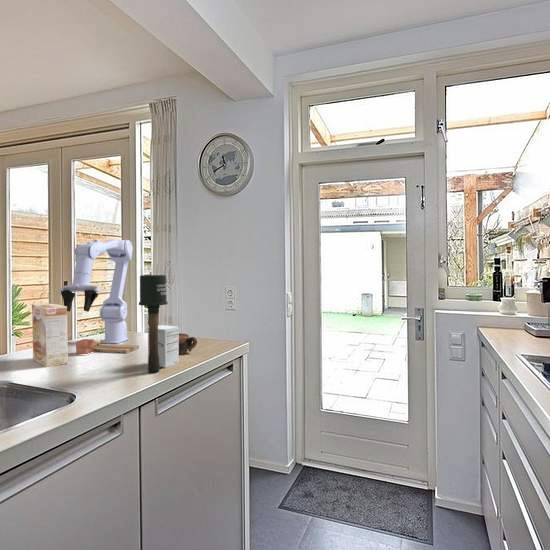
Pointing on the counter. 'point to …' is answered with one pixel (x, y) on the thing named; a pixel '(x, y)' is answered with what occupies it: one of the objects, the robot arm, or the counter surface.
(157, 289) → the stick grenade
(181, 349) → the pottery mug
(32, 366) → the counter surface
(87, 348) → the brown block with stick
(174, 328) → the supplement box
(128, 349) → the board
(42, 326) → the coffeecake box
